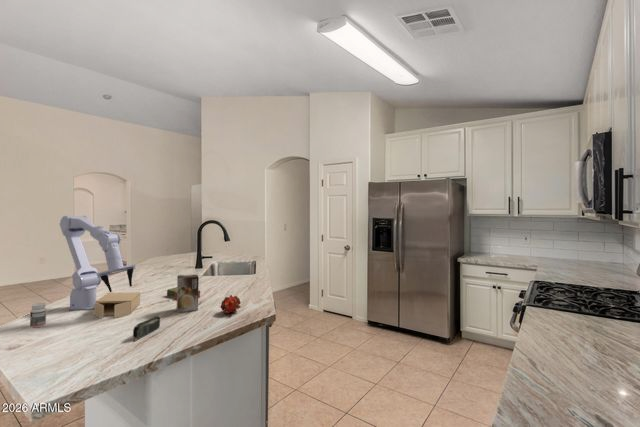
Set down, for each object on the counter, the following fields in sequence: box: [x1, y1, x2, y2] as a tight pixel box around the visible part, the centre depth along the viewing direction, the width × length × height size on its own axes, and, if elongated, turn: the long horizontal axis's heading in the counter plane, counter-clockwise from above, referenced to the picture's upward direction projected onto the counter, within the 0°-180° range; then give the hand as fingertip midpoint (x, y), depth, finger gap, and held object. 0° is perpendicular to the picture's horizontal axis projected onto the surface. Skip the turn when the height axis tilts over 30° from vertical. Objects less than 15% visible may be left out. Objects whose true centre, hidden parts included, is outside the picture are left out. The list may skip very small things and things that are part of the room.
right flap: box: [113, 302, 131, 319], centre depth 141 cm, size 7×1×5 cm, turn 150°
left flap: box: [93, 303, 105, 319], centre depth 138 cm, size 7×1×5 cm, turn 59°
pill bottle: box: [29, 302, 47, 328], centre depth 127 cm, size 5×5×8 cm
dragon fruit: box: [220, 294, 242, 315], centre depth 152 cm, size 8×8×12 cm
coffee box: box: [176, 273, 200, 313], centre depth 154 cm, size 9×6×16 cm
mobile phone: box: [132, 315, 161, 342], centre depth 124 cm, size 5×3×15 cm
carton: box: [166, 286, 201, 299], centre depth 174 cm, size 8×16×4 cm, turn 64°
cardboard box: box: [96, 291, 141, 315], centre depth 149 cm, size 14×14×6 cm
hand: (121, 289), depth 142 cm, fingers open, 7 cm apart
